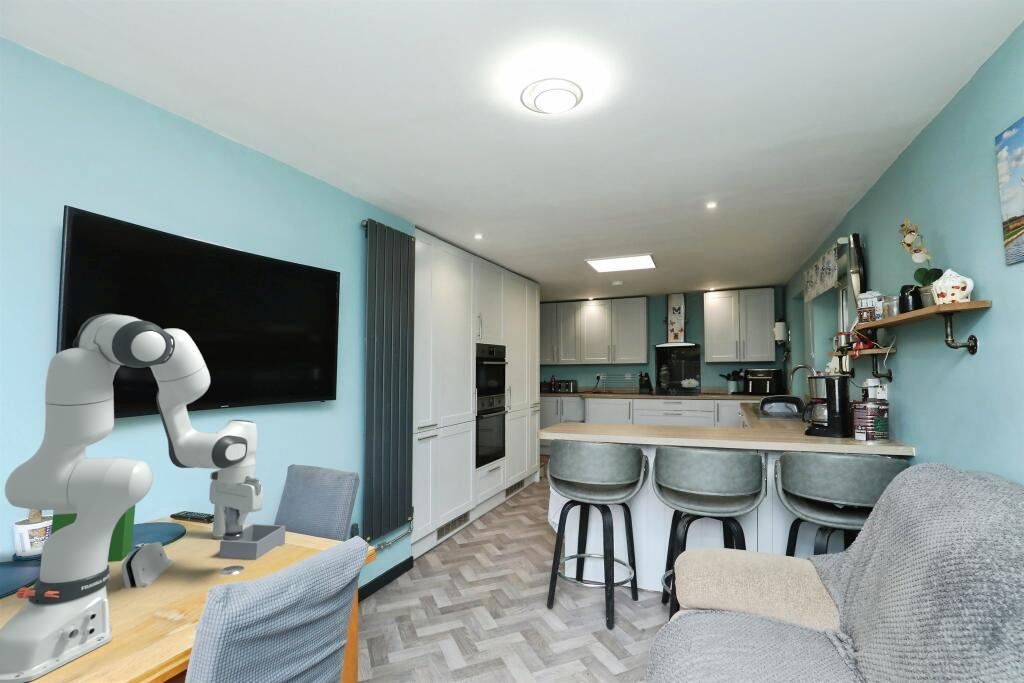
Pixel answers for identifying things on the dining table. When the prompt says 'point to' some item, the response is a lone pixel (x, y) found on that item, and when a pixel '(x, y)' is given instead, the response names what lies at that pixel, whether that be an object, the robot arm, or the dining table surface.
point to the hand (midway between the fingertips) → (234, 523)
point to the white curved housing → (145, 565)
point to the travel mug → (218, 523)
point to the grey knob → (232, 525)
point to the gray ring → (231, 570)
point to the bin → (253, 542)
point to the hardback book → (120, 535)
